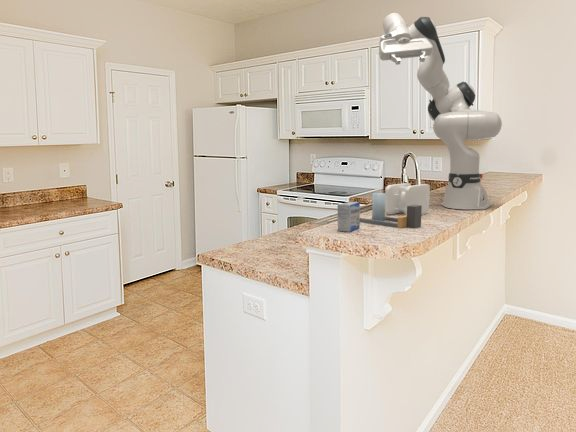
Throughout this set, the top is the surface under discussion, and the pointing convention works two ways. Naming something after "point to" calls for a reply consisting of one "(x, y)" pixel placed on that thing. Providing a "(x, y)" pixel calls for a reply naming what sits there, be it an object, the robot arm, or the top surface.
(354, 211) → the medicine box
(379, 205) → the marker sleeve
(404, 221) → the comb channel
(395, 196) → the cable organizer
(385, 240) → the top surface
